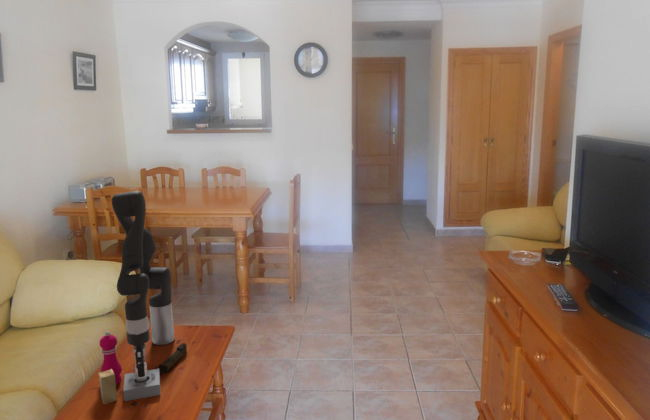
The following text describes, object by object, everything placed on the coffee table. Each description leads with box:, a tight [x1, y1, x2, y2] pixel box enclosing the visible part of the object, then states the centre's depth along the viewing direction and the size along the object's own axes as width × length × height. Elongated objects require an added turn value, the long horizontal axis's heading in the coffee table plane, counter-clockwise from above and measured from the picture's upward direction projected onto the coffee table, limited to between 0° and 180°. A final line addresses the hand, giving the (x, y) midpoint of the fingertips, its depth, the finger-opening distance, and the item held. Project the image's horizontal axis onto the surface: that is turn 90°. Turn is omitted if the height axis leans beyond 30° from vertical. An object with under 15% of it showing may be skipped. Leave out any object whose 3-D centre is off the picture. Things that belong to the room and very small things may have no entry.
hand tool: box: [157, 342, 188, 374], centre depth 201 cm, size 19×4×5 cm, turn 165°
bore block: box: [122, 368, 161, 402], centre depth 182 cm, size 12×12×4 cm
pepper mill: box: [99, 331, 123, 385], centre depth 185 cm, size 7×7×20 cm
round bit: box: [134, 360, 148, 383], centre depth 181 cm, size 4×4×10 cm
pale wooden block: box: [98, 369, 118, 405], centre depth 175 cm, size 4×4×10 cm
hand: (141, 370), depth 181 cm, fingers open, 8 cm apart
